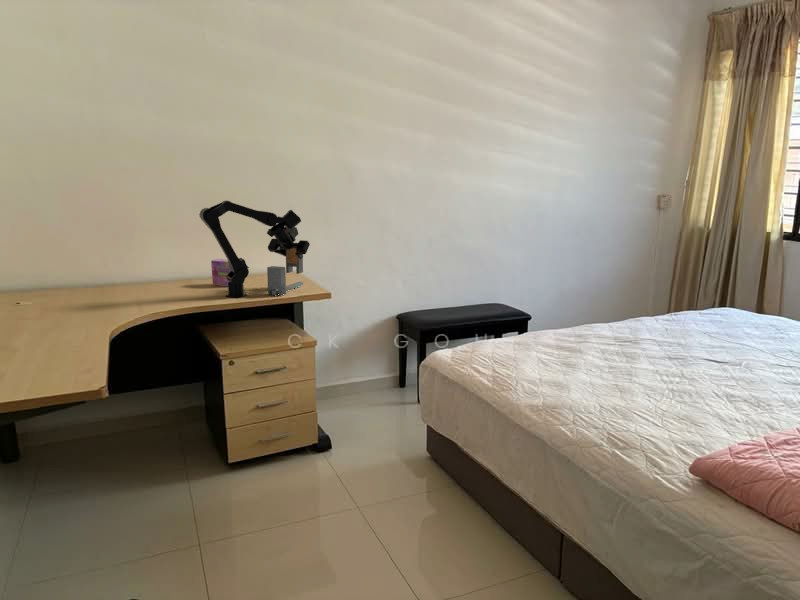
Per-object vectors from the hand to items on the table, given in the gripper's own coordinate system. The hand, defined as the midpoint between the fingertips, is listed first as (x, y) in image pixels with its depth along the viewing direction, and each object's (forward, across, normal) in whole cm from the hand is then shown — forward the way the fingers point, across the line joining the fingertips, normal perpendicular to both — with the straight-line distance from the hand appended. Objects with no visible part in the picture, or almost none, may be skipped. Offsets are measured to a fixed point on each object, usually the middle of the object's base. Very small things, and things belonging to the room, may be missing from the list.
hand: (295, 257), depth 272 cm
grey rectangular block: (+4, 0, +6) cm, 7 cm away
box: (+2, +31, +17) cm, 36 cm away
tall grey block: (-3, -1, +22) cm, 23 cm away
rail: (+3, -1, +16) cm, 16 cm away
